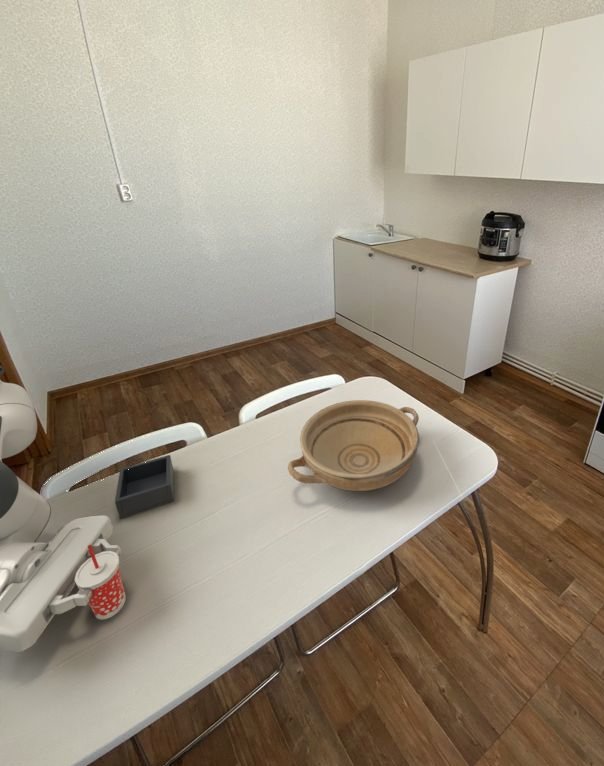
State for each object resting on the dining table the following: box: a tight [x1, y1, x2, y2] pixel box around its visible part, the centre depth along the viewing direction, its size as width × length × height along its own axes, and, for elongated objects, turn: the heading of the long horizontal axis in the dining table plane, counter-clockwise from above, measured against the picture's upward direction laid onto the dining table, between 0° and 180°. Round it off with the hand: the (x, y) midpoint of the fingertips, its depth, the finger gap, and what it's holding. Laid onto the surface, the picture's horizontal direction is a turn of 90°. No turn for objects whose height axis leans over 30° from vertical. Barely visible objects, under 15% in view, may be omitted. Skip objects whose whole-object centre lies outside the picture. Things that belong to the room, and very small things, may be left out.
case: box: [114, 454, 175, 520], centre depth 88 cm, size 11×11×5 cm
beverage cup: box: [75, 545, 127, 621], centre depth 63 cm, size 6×6×14 cm
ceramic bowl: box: [287, 399, 420, 492], centre depth 94 cm, size 37×29×10 cm
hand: (104, 574), depth 63 cm, fingers closed on beverage cup, 6 cm apart
